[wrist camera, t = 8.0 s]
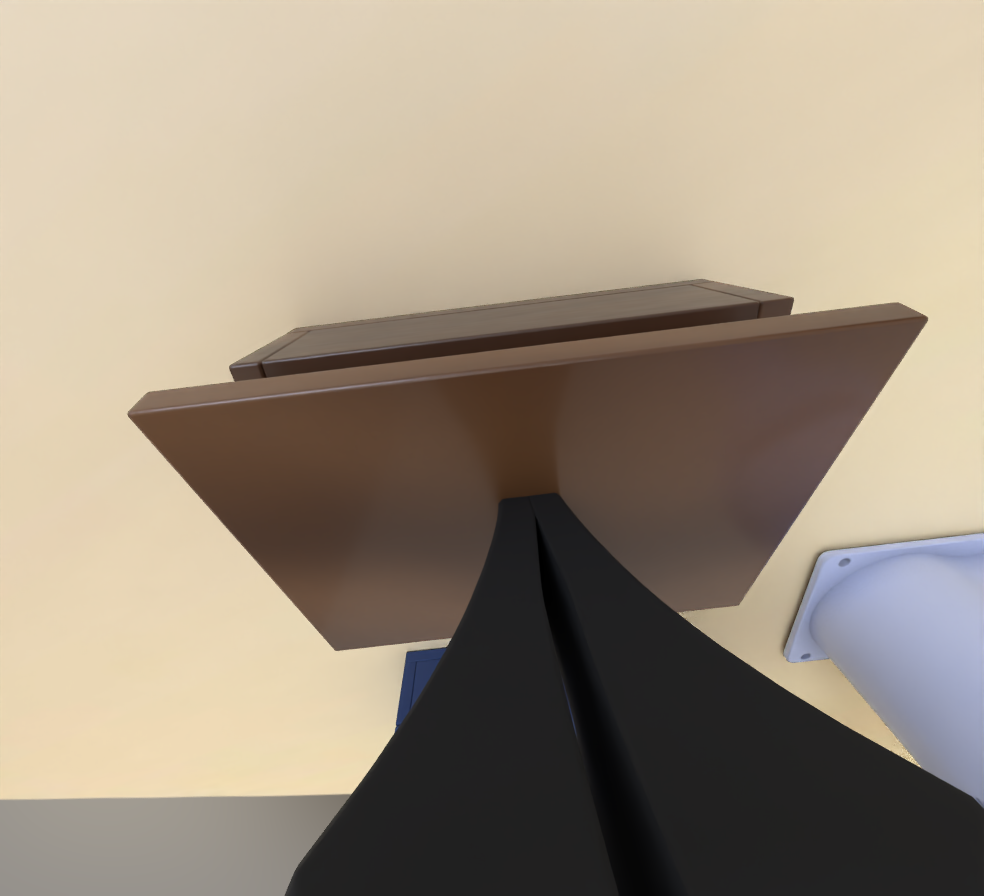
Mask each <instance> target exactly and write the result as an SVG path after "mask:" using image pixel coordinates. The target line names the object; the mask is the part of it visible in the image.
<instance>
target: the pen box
mask: <svg viewBox="0 0 984 896" xmlns="http://www.w3.org/2000/svg"><path fill="white" fill-rule="evenodd" d="M793 302H794V298H792V297H788V296H783V295H778V294H773V293H769V292H764V291H759V290H754V289H749V288H744V287H739V286H734V285H729V284H724V283H719V282H714V281H709V280H704V279H699V280H690V281H682V282H674V283H665V284H657V285H649V286H641V287H632V288H624V289H616V290H608V291H599V292H591V293H583V294H575V295H566V296H558V297H550V298H542V299H533V300H525V301H517V302H509V303H500V304H492V305H484V306H475V307H467V308H459V309H451V310H442V311H434V312H426V313H418V314H409V315H401V316H393V317H385V318H376V319H368V320H360V321H352V322H343V323H335V324H327V325H318V326H310V327H302V328H296V329H294V330H292V331H290V332H288V333H287V334H285V335H284V336H282V337H280V338H278V339H276V340H275V341H273V342H271V343H269V344H267V345H266V346H264V347H262V348H260V349H258V350H257V351H255V352H253V353H251V354H249V355H248V356H246V357H244V358H242V359H240V360H239V361H237V362H235V363H233V364H232V365H230V366H229V369H230V372H231V374H232V376H233V379H234V381H235V382H236V381H245V380H253V379H261V378H270V377H278V376H286V375H295V374H303V373H311V372H320V371H328V370H336V369H345V368H353V367H361V366H370V365H378V364H386V363H395V362H403V361H411V360H420V359H428V358H436V357H445V356H453V355H461V354H470V353H478V352H486V351H495V350H503V349H511V348H520V347H528V346H536V345H545V344H553V343H561V342H570V341H578V340H586V339H595V338H603V337H611V336H620V335H628V334H636V333H645V332H653V331H661V330H670V329H678V328H686V327H695V326H703V325H711V324H720V323H728V322H736V321H745V320H753V319H761V318H770V317H778V316H787V315H790V314H791V310H792V306H793Z"/></svg>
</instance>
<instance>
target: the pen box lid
mask: <svg viewBox="0 0 984 896" xmlns="http://www.w3.org/2000/svg"><path fill="white" fill-rule="evenodd" d="M927 321H928V317H927V316H925V315H923V314H921V313H919V312H917V311H915V310H913V309H911V308H909V307H907V306H905V305H903V304H901V303H887V304H878V305H870V306H862V307H853V308H845V309H837V310H828V311H820V312H812V313H803V314H795V315H787V316H778V317H770V318H761V319H753V320H745V321H736V322H728V323H720V324H711V325H703V326H695V327H686V328H678V329H670V330H661V331H653V332H645V333H636V334H628V335H620V336H611V337H603V338H595V339H586V340H578V341H570V342H561V343H553V344H545V345H536V346H528V347H520V348H511V349H503V350H495V351H486V352H478V353H470V354H461V355H453V356H445V357H436V358H428V359H420V360H411V361H403V362H395V363H386V364H378V365H370V366H361V367H353V368H345V369H336V370H328V371H320V372H311V373H303V374H295V375H286V376H278V377H270V378H261V379H253V380H245V381H236V382H228V383H220V384H211V385H203V386H194V387H186V388H178V389H169V390H161V391H153V392H148V393H146V394H145V395H144V396H143V397H142V398H141V399H140V400H139V401H138V402H137V403H136V404H135V405H134V406H133V407H132V408H131V409H130V410H129V411H128V417H129V418H130V419H131V420H132V421H133V422H134V423H135V425H136V426H137V427H138V428H139V429H140V430H141V431H142V433H143V434H144V435H145V436H146V437H147V438H148V439H149V440H150V442H151V443H152V444H153V445H154V446H155V447H156V448H157V450H158V451H159V452H160V453H161V454H162V455H163V456H164V457H165V459H166V460H167V461H168V462H169V463H170V464H171V465H172V467H173V468H174V469H175V470H176V471H177V472H178V473H179V474H180V476H181V477H182V478H183V479H184V480H185V481H186V482H187V483H188V485H189V486H190V487H191V488H192V489H193V490H194V491H195V493H196V494H197V495H198V496H199V497H200V498H201V499H202V500H203V502H204V503H205V504H206V505H207V506H208V507H209V508H210V510H211V511H212V512H213V513H214V514H215V515H216V516H217V517H218V519H219V520H220V521H221V522H222V523H223V524H224V525H225V526H226V528H227V529H228V530H229V531H230V532H231V533H232V534H233V536H234V537H235V538H236V539H237V540H238V541H239V542H240V543H241V545H242V546H243V547H244V548H245V549H246V550H247V551H248V553H249V554H250V555H251V556H252V557H253V558H254V559H255V560H256V562H257V563H258V564H259V565H260V566H261V567H262V568H263V569H264V571H265V572H266V573H267V574H268V575H269V576H270V577H271V579H272V580H273V581H274V582H275V583H276V584H277V585H278V586H279V588H280V589H281V590H282V591H283V592H284V593H285V594H286V596H287V597H288V598H289V599H290V600H291V601H292V602H293V603H294V605H295V606H296V607H297V608H298V609H299V610H300V611H301V613H302V614H303V615H304V616H305V617H306V618H307V619H308V620H309V622H310V623H311V624H312V625H313V626H314V627H315V628H316V629H317V631H318V632H319V633H320V634H321V635H322V636H323V637H324V639H325V640H326V641H327V642H328V643H329V644H330V645H331V646H332V648H333V649H334V650H335V651H340V650H349V649H357V648H366V647H375V646H384V645H393V644H402V643H410V642H419V641H428V640H437V639H446V638H452V637H453V635H454V633H455V631H456V629H457V627H458V625H459V623H460V621H461V619H462V617H463V615H464V613H465V610H466V608H467V606H468V604H469V602H470V599H471V597H472V594H473V592H474V589H475V587H476V584H477V582H478V579H479V577H480V575H481V572H482V569H483V567H484V564H485V561H486V558H487V555H488V551H489V548H490V545H491V542H492V539H493V535H494V531H495V527H496V522H497V516H498V503H499V502H500V501H501V500H502V499H506V498H515V497H523V496H532V495H541V494H549V493H557V494H558V495H560V496H561V497H562V499H563V500H564V502H565V503H566V504H567V505H568V507H569V508H570V509H571V510H572V512H573V513H574V514H575V515H576V517H577V518H578V519H579V520H580V521H581V522H582V523H583V525H584V526H585V527H586V528H587V529H588V530H589V531H590V533H591V534H592V535H593V536H594V537H595V538H596V539H597V540H598V541H599V542H600V543H601V544H602V545H603V546H604V547H605V548H606V549H607V550H608V551H609V552H610V553H611V555H612V556H613V557H614V558H615V559H616V560H618V561H619V562H620V563H621V564H622V565H623V566H624V567H625V568H626V569H627V570H628V571H629V572H630V573H631V574H632V575H633V576H634V577H636V578H637V579H638V580H639V581H640V582H641V583H642V584H643V585H644V586H645V587H647V588H648V589H649V590H650V591H651V592H652V593H653V594H655V595H656V596H657V597H658V598H659V599H661V600H662V601H663V602H664V603H665V604H667V605H668V606H669V607H670V608H672V609H673V610H674V611H675V612H684V611H693V610H702V609H711V608H719V607H728V606H737V605H739V604H740V602H741V601H742V599H743V598H744V596H745V595H746V593H747V592H748V590H749V589H750V587H751V586H752V584H753V583H754V581H755V580H756V578H757V577H758V575H759V574H760V572H761V571H762V569H763V568H764V566H765V565H766V563H767V562H768V560H769V559H770V557H771V556H772V554H773V553H774V551H775V550H776V548H777V547H778V545H779V544H780V542H781V541H782V539H783V538H784V536H785V535H786V533H787V532H788V530H789V529H790V527H791V526H792V524H793V523H794V521H795V520H796V518H797V517H798V515H799V514H800V512H801V511H802V509H803V508H804V506H805V505H806V503H807V502H808V500H809V499H810V497H811V496H812V494H813V493H814V491H815V490H816V488H817V487H818V485H819V484H820V482H821V481H822V479H823V478H824V476H825V475H826V473H827V472H828V470H829V469H830V467H831V466H832V464H833V463H834V461H835V460H836V458H837V457H838V455H839V454H840V452H841V451H842V449H843V448H844V446H845V445H846V443H847V442H848V440H849V439H850V437H851V436H852V434H853V433H854V431H855V430H856V428H857V427H858V425H859V424H860V422H861V421H862V419H863V418H864V416H865V415H866V413H867V412H868V410H869V409H870V407H871V406H872V404H873V403H874V401H875V400H876V398H877V397H878V395H879V394H880V392H881V391H882V389H883V388H884V386H885V385H886V383H887V382H888V380H889V379H890V377H891V376H892V374H893V373H894V371H895V370H896V368H897V367H898V365H899V364H900V362H901V361H902V359H903V358H904V356H905V354H906V353H907V351H908V350H909V348H910V347H911V345H912V344H913V342H914V341H915V339H916V338H917V336H918V335H919V333H920V332H921V330H922V329H923V327H924V326H925V324H926V323H927Z"/></svg>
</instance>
